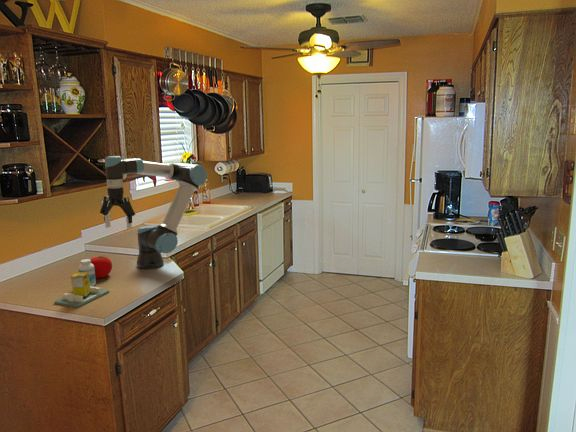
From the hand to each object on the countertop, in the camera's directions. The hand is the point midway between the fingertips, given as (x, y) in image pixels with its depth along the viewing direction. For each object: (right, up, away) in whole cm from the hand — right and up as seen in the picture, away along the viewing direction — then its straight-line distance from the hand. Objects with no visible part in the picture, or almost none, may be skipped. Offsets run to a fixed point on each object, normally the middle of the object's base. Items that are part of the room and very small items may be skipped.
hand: (118, 228), depth 239 cm
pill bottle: (-16, -30, +1) cm, 34 cm away
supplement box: (-12, -32, -16) cm, 38 cm away
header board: (-12, -33, -16) cm, 38 cm away
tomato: (-15, -27, +14) cm, 34 cm away
